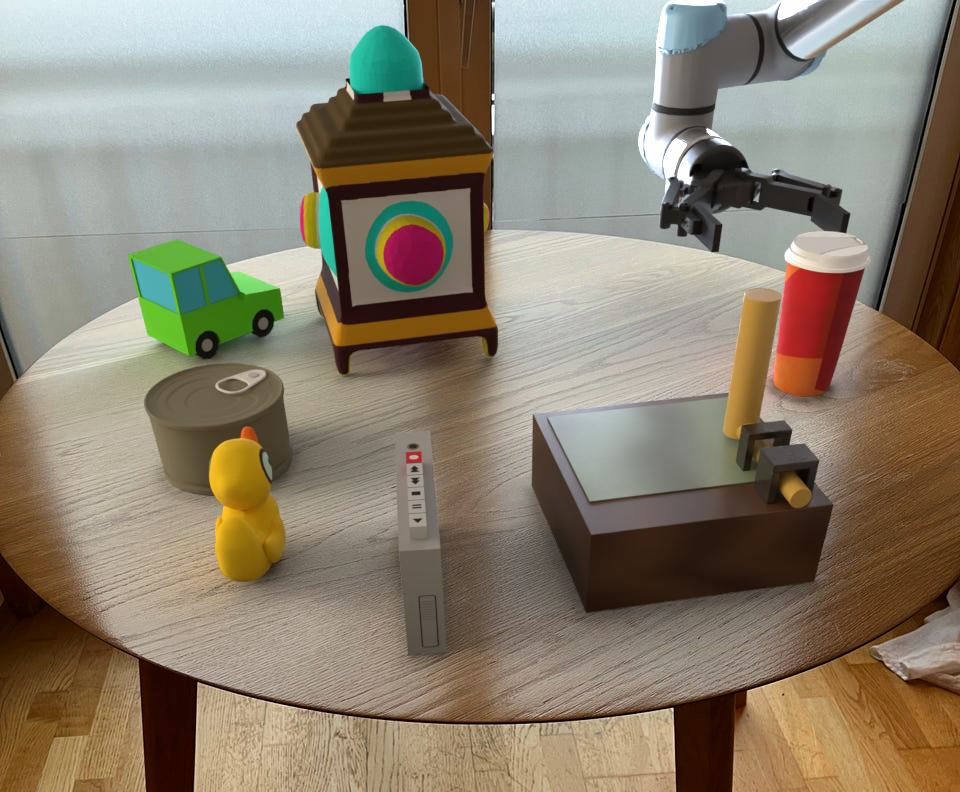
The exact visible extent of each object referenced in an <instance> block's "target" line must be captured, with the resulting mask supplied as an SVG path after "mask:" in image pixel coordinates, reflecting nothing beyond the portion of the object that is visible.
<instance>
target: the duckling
mask: <svg viewBox="0 0 960 792" xmlns="http://www.w3.org/2000/svg"><path fill="white" fill-rule="evenodd" d="M209 481H210V485H211V489H212V491H213V493H214V495H213V496H214V497H215V498H216V499H217V501H218V502H219V503H220V504H221V505H222V506H223V508H222V514H221V515H219V516H218V517H217V519H216V521H215V526H214V534H215V543H214V553H215V556H216V559H217V564H218V567H219V569H220V571H221V573H222V574H223V575H224V576H225V577H226V578H227V579H229V580H230V581H234V582H238V583H247V582H255V581H257V580H260V579H261V578H262V577H263V576H264V575H265V574H266V573H267V572H268V570H270V568H271V566H272V564H274V563H275V564H276V563H278V562H279V561H280V560H281V559H282V558H283V556H284V553H285V552H284V551H285V545H286V538H287V537H286V536H287V535H286V528H285V524H284V521H283V519H282V517H281V513H280V508H279V505H278V502H277V500H276V499H275V497H274V496H273V495H272V493H271V491H272V486H273V480H272V468H271V463H270V460H269V457H268V455H267V453H266V452H265V450H264V449H263V448H262V447H261V446H260V445H259V442H258V439H257V436H256V434H255V432H254V430H253V429H252V428H251V427H244V428H243V430H242V432H241V437H240V438H238V439H231V440H227V441H225V442H223V443H221V444H220V445H219V446H218V447H217V448H216V449H215V451H214V452H213V454H212V456H211V459H210V464H209Z"/></svg>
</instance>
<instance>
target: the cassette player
mask: <svg viewBox="0 0 960 792" xmlns="http://www.w3.org/2000/svg"><path fill="white" fill-rule="evenodd" d="M394 444H395V445H394V446H395V447H394V448H395V451H394V452H395V477H396V478H395V479H396V481H395V482H396V501H397V502H396V505H397V506H396V507H397V508H396V509H397V531H398V532H397V535H398V536H397V538H398V558H399V568H400V580H401V592H402V599H403V600H402V603H403V614H404V624H405V625H404V626H405V635H406V636H405V637H406V648H407V655H408V656H413V655H429V654H443V653H445V654H446V653H447V643H446V623H445V606H444V605H445V604H444V587H443V586H444V585H443V571H442V569H443V568H442V550H441V540H440V538H441V537H440V528H439V517H438V505H437V504H438V503H437V494H436V481H435V472H434V461H433V450H432V439H431V430H421V431H405V432H404V431H403V432H395V433H394Z"/></svg>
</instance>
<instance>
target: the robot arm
mask: <svg viewBox="0 0 960 792" xmlns="http://www.w3.org/2000/svg"><path fill="white" fill-rule="evenodd" d="M904 1H905V0H779V1H778V2H777V3H776V4H774V5H772V6H771V7H770V8H768V9H765V10H760V11H754V12H746V13H736V14H728V5H727V4H726V3H725V1H724V0H670V1H668V2H667V3H666V4H665V5H664V7H663V9H662V11H661V16H660V21H659V24H658V25H659V26H658V33H657V37H656V38H657V39H656V44H655V47H656V48H655V50H656V57H655V60H656V61H655V74H654V75H655V76H654V89H653V99H652V105H651V110H650V115H648V116H647V118H646V119H645V121H644V123H643V125H642V127H641V129H640V131H639V134H638V149H639V153H640V156H641V158H642V160H643V161H644V162H645V164H646V165H647V167H648V169H649V170H650V171H651V173H653V174H654V175H655V176H657V177H658V178H660V179H661V180H663V181H664V182H665V188H664V189H665V190H664V196H663V197H662V201H661V202H660V211H659V219H658V228H659V229H661V230H667V229H671V226H672V225H676V231H675V235H676V236H677V237H679V238H686V237H688V235H690V236H694V237H695V238H696V239H697V240H698V241H699V242H700V243H702V244H703V246H705V248H706V249H707V250H708V251H709V252H711V253H719V252H720V246H721V241H722V239H721V238H722V231H723V223H722V222H721V221H720V220H718V219H717V218H716V216H714V215H718V214H721V213H723V212H726V211H727V210H729V209H731V208H733V209H734V208H735V209H742V208H744V209H750V210H754V211H758V212H759V211H760V212H761V211H763V210H765V209H766V208H769V209H774V210H778V211H783V212H786V213H787V212H788V213H793V214H798V215H801V216H806V217H810V222H811V223H813V224H814V225H815V226H817V227H818V228H819V229H821V231H832V232H840V233H846V234H847V232H848V228H849V224H850V223H849V222H850V218H851V212H849V211H848V210H846V209H845V208H843V207H842V206H841V200H842V195H843V189H842V188H840V187H836V186H832V184H829V183H827V184H825V183H821V182H818V181H814V180H811V179H808V178H804V177H800V176H797V175H794V174H790V173H788V172H786V171H785V170H783V169H780V168H773V169H771V174H770V175H769V174H763V173H759V172H755V171H754V172H753V171H752V170H751V169H750V166H749V163H748V161H747V159H746V157H745V155H744V153H742V151H741V150H739V149H738V148H737V147H735V146H734V145H733V144H731V143H729V142H728V140H726V139H725V138H723V137H722V136H721V135H719V134H717V133H716V132H714V131H713V123H714V115H715V110H716V103H717V98H718V92H719V90H722V89H729V88H735V87H743V86H749V85H757V84H764V83H772V82H778V81H780V82H786V81H791V80H795V79H796V78H799V77H805V76H807V75H810V74H812V73H813V72H815V71H816V70H817V69H818V68H819V67H820V65H821V63H822V61H823V59H824V58H825V57H826V55H827V52H828V50H829V49H831V48H834V46H836V45H837V44H839V43H840V42H842V41H844V40H845V39H847V38H848V37H850V36H851V35H853V34H855V33H856V32H857V31H859V30H860V29H862V28H863V27H866V26H867V25H868V24H870V23H871V22H873V21H874V20H876V19H877V18H880V17H881V16H883V15H884V14H886V13H887V12H889V11H890V10H892V9H893V8H895V7H897V6H898V5H899V4H901V3H903V2H904ZM757 197H758V199H757V200H758V201H757V200H755V199H756V198H757Z"/></svg>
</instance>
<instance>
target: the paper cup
mask: <svg viewBox="0 0 960 792" xmlns="http://www.w3.org/2000/svg"><path fill="white" fill-rule="evenodd" d="M784 260H785V262H786V268H785V277H784V283H783V284H784V285H783V292H782V299H781V309H780V317H779V325H778V333H777V339H776V340H777V342H776V350H775V359H774V367H773V377H772V380H773V381H772V382H773V385H774V387H775V388H776V389H778V390H779V391H781V392H783V393H786V394H789V395H791V396H797V397H817V396H820V395H823V394H825V393H826V392H828V390H829V389H830V387H831V384H832V382H833V378H834V374H835V372H836V368H837V365H838V362H839V360H840V359H839V358H840V356H841V352H842V348H843V345H844V342H845V338H846V334H847V331H848V329H849V325H850V321H851V318H852V314H853V310H854V307H855V304H856V301H857V297H858V294H859V290H860V287H861V283H862V280H863V276H864V274H865V270H866V268H867V267H868V266H870V264H871V256H870V254H869V245H868V244H866V242H865V241H863V240H862V239H860V238H858V237H857V236H856V235H853V234H850V233H847V232H846V233H840V232H832V231H823V230H817V231H816V230H815V231H814V230H813V231H807V232H803V233H800V234H798V235H796V236H795V237H794V239H793V241H792V242H791V244H790V245H789V246H788V248H787V249H786V250H785V252H784Z"/></svg>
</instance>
